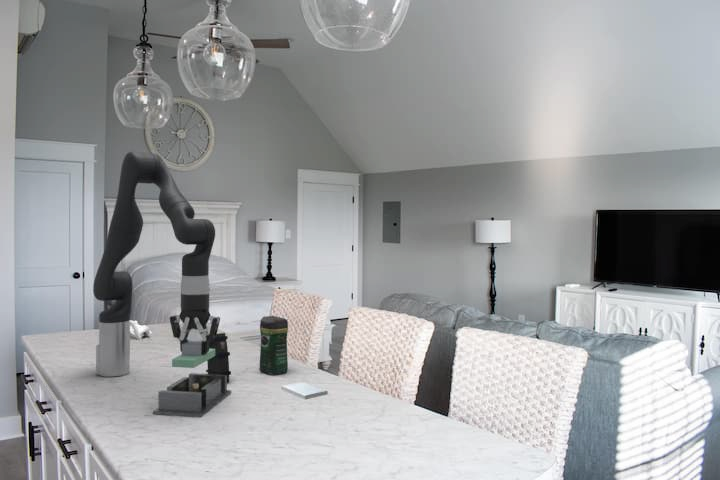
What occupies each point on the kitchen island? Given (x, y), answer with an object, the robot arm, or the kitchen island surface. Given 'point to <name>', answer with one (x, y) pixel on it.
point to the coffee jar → (273, 345)
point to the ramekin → (195, 333)
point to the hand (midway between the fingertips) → (194, 353)
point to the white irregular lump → (139, 330)
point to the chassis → (193, 395)
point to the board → (192, 355)
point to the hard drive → (304, 390)
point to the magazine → (219, 356)
